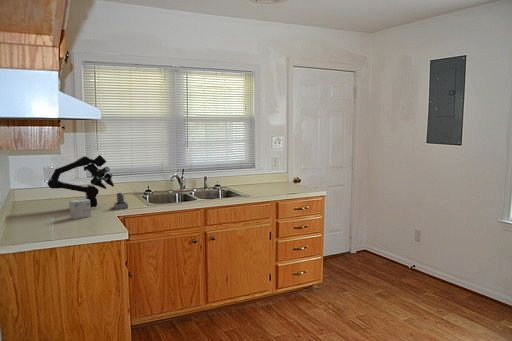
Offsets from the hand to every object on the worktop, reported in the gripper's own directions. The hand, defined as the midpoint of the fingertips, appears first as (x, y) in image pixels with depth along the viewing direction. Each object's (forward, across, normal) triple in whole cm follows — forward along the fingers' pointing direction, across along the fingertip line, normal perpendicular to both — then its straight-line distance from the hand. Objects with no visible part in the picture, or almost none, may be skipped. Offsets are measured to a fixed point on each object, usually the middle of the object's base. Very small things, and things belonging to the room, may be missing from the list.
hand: (109, 187), depth 279 cm
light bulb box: (+8, -30, +11) cm, 33 cm away
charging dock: (+16, -1, +4) cm, 16 cm away
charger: (+16, -1, +4) cm, 16 cm away
